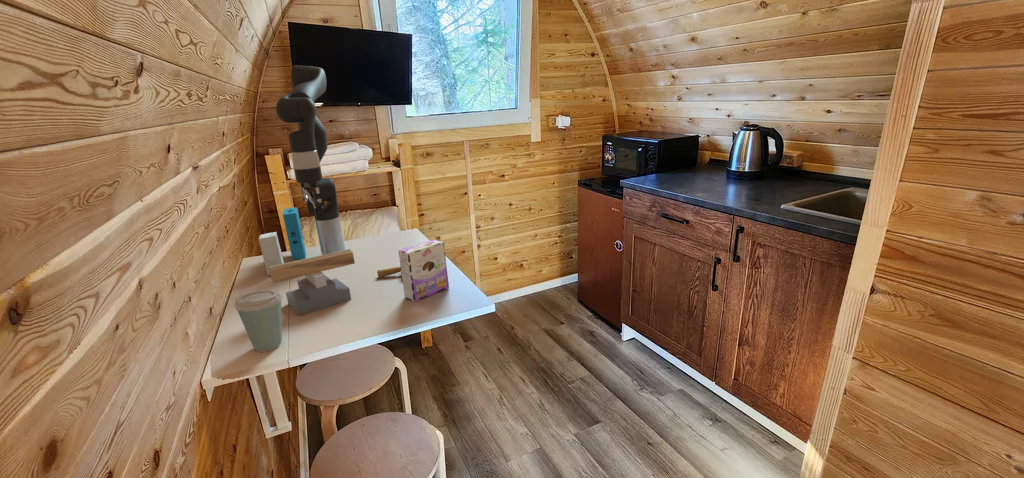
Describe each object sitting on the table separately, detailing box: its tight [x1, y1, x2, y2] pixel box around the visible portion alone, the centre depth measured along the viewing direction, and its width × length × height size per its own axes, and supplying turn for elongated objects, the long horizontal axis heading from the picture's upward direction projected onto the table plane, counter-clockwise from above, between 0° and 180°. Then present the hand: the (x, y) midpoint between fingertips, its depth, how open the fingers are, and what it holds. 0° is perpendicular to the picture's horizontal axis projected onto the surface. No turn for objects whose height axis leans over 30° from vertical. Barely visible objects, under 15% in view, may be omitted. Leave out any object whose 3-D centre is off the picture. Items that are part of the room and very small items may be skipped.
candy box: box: [398, 239, 450, 303], centre depth 142 cm, size 14×6×16 cm, turn 134°
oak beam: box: [269, 248, 356, 284], centre depth 139 cm, size 4×24×4 cm, turn 125°
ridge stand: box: [285, 271, 352, 317], centre depth 141 cm, size 12×16×10 cm
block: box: [282, 207, 307, 261], centre depth 185 cm, size 12×5×20 cm, turn 23°
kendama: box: [376, 266, 402, 279], centre depth 160 cm, size 8×6×18 cm
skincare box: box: [258, 231, 285, 276], centre depth 170 cm, size 8×6×15 cm
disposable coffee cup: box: [234, 289, 283, 353], centre depth 114 cm, size 11×11×15 cm
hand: (316, 216), depth 140 cm, fingers open, 8 cm apart
